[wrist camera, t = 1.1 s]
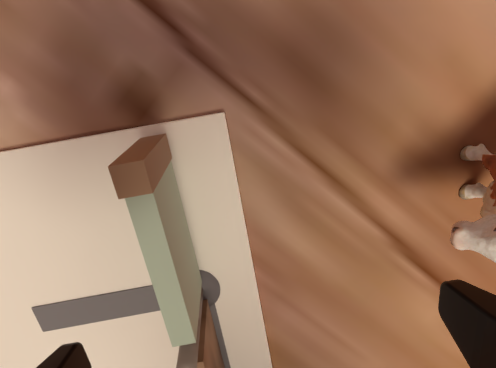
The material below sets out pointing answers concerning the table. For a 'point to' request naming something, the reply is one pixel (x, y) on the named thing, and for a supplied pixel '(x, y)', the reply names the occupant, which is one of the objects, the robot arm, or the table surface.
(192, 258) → the swing panel
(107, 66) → the table surface
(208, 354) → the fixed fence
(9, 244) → the card
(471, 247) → the bull figurine
